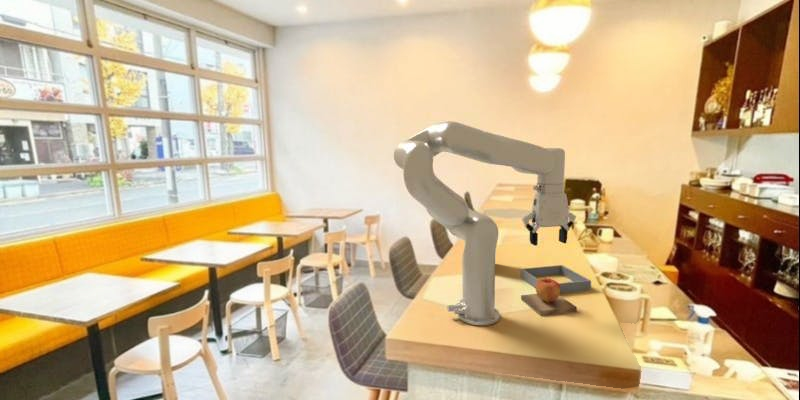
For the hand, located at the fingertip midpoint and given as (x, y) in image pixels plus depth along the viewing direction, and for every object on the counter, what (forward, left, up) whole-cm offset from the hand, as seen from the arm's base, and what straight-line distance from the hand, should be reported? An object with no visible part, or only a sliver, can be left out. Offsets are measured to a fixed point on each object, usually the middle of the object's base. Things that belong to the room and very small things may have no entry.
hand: (548, 243), depth 118 cm
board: (0, 0, -20) cm, 20 cm away
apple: (0, 0, -19) cm, 19 cm away
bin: (+12, +16, -20) cm, 29 cm away
